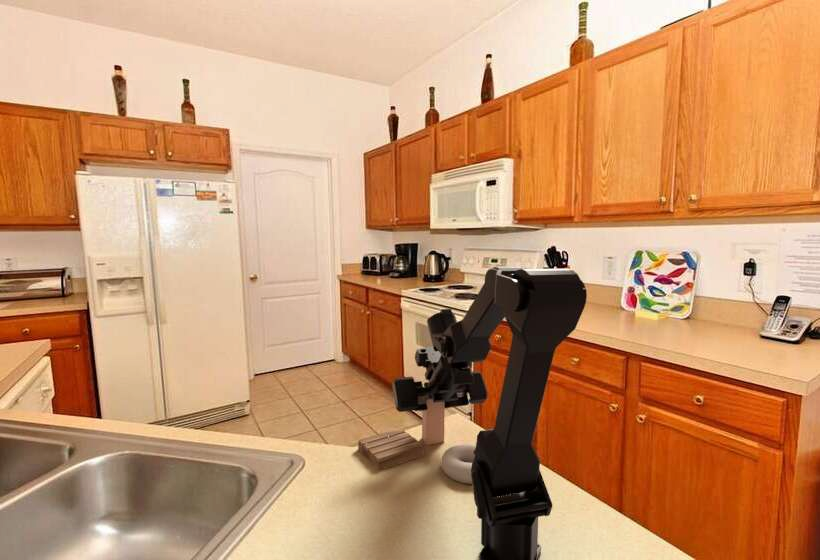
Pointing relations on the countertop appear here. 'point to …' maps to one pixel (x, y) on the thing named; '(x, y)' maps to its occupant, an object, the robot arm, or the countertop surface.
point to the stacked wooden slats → (390, 448)
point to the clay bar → (433, 422)
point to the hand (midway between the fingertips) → (431, 407)
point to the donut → (459, 462)
